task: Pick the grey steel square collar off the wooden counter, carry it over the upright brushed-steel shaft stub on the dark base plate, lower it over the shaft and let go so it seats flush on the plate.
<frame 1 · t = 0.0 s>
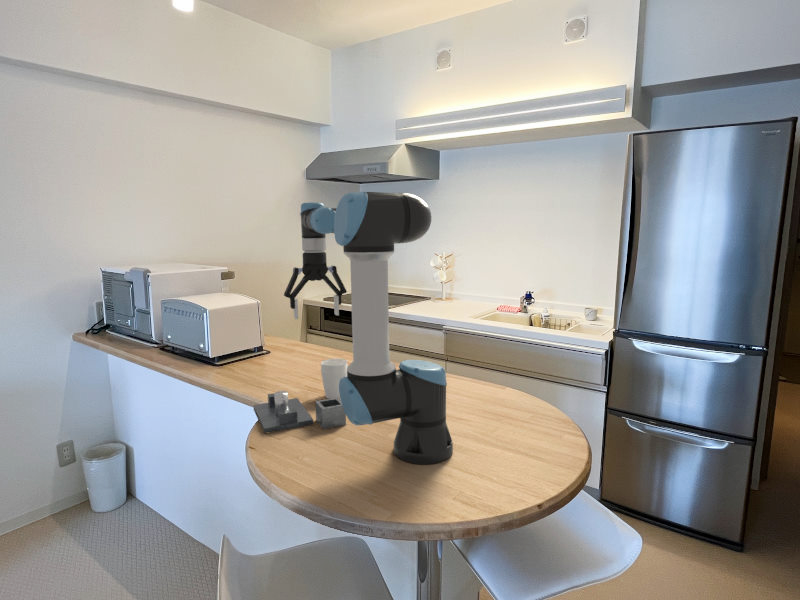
hand: (316, 316, 158), 28 cm above the breakfast bar counter, fingers open, 13 cm apart
grey hollow block: (330, 422, 143), on the breakfast bar counter
shaft base: (282, 416, 147), on the breakfast bar counter
cup: (335, 396, 165), on the breakfast bar counter
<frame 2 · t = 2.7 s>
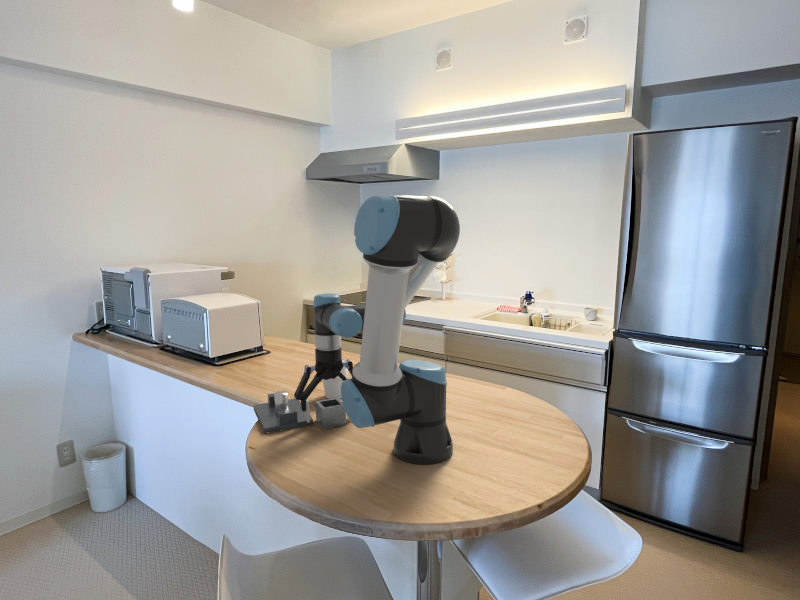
hand: (330, 417, 143), 2 cm above the breakfast bar counter, fingers open, 13 cm apart
nothing on the breakfast bar counter moved.
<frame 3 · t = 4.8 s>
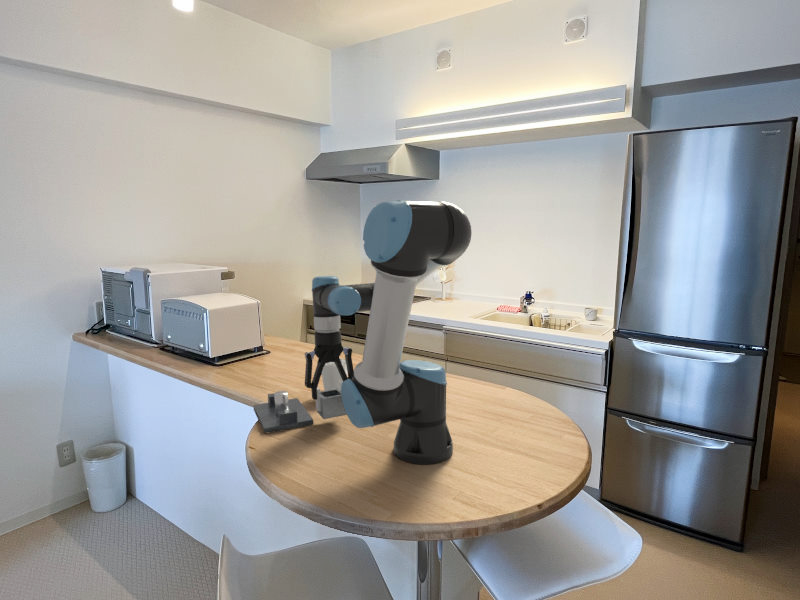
hand: (331, 407, 141), 5 cm above the breakfast bar counter, fingers closed on grey hollow block, 7 cm apart
grey hollow block: (331, 413, 141), point 3 cm above the breakfast bar counter, touching gripper
everything else where it was.
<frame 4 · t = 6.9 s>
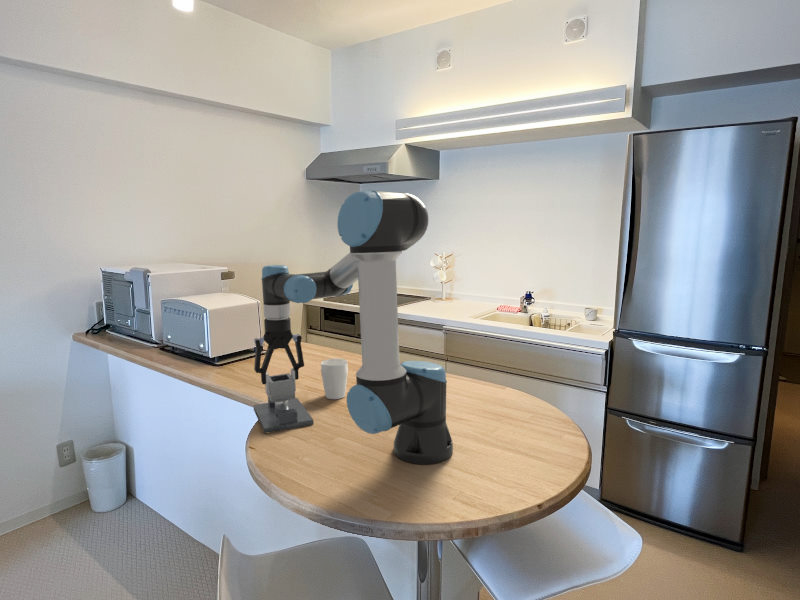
hand: (280, 391, 146), 8 cm above the breakfast bar counter, fingers closed on grey hollow block, 7 cm apart
grey hollow block: (281, 397, 147), point 6 cm above the breakfast bar counter, touching gripper
everything else where it was.
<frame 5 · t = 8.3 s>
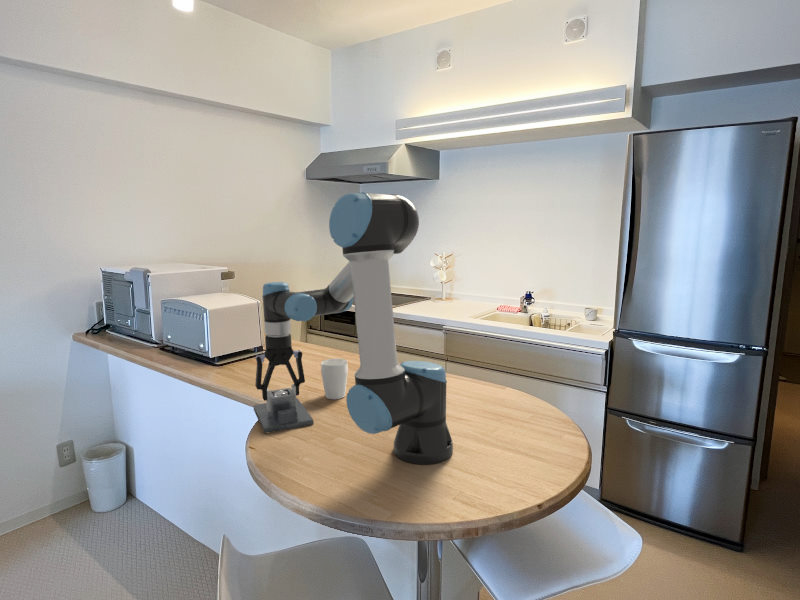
hand: (281, 407, 147), 3 cm above the breakfast bar counter, fingers closed on grey hollow block, 7 cm apart
grey hollow block: (282, 411, 147), point 1 cm above the breakfast bar counter, touching gripper, shaft base
everything else where it was.
when the fingers open (3 cm above the breakfast bar counter, at t = 8.8 s): grey hollow block stays where it is, resting on shaft base.
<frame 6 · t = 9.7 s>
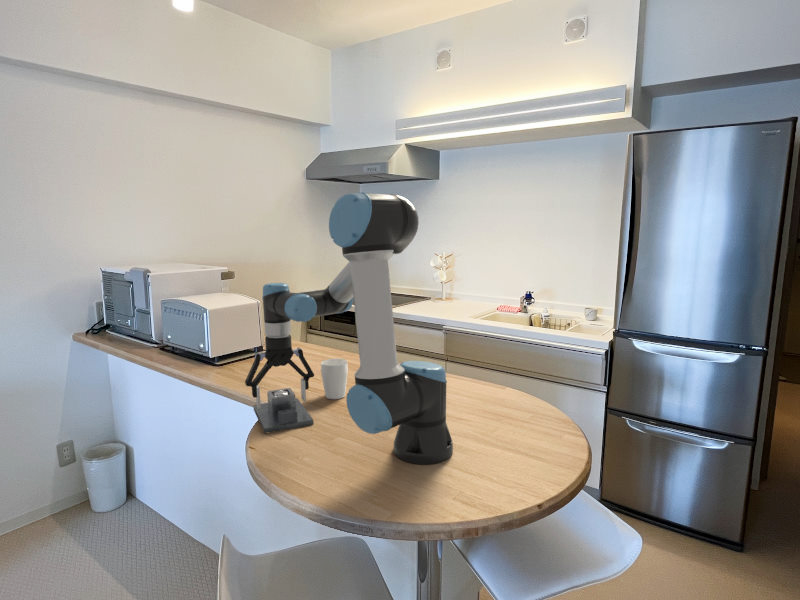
hand: (281, 403, 147), 4 cm above the breakfast bar counter, fingers open, 13 cm apart
grey hollow block: (282, 411, 147), point 1 cm above the breakfast bar counter, touching shaft base
everything else where it was.
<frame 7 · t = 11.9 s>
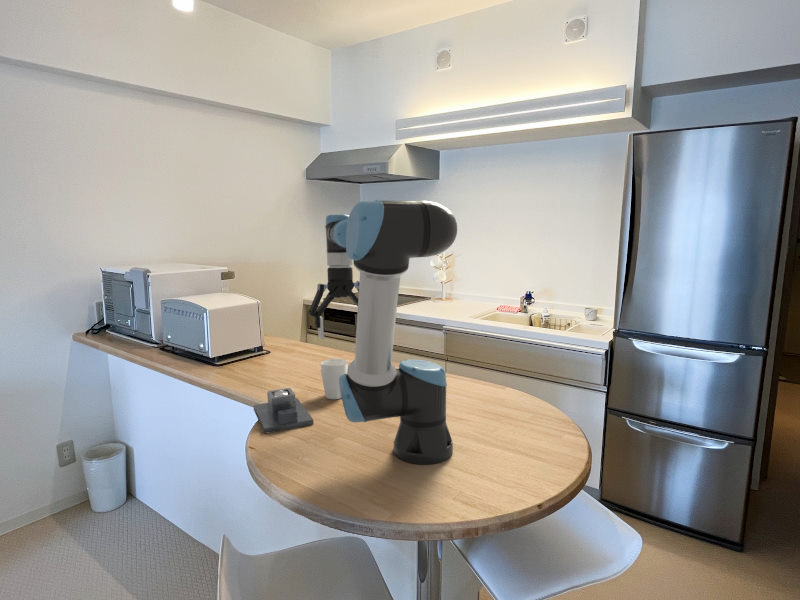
hand: (342, 335, 149), 24 cm above the breakfast bar counter, fingers open, 13 cm apart
nothing on the breakfast bar counter moved.
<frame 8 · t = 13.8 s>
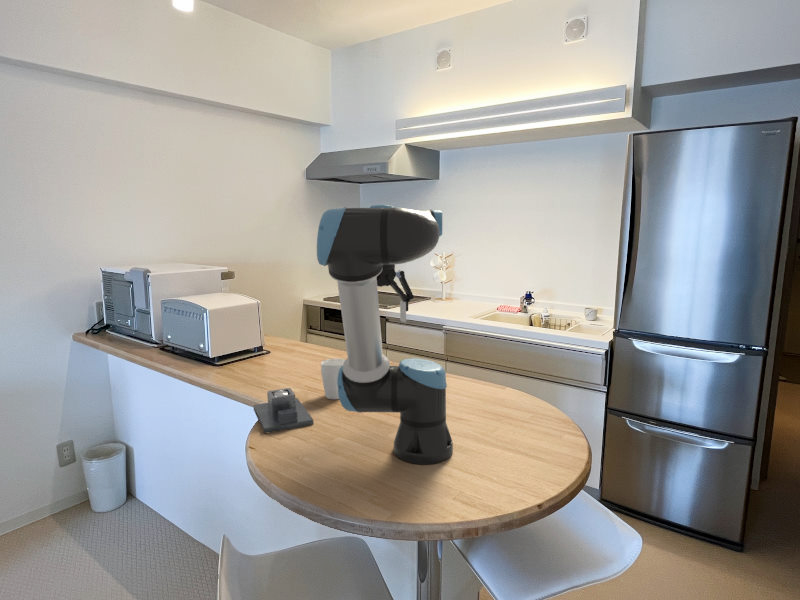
hand: (383, 323, 152), 27 cm above the breakfast bar counter, fingers open, 13 cm apart
nothing on the breakfast bar counter moved.
at the end: grey hollow block 0.1 cm off-centre on the shaft base, point 1.5 cm above the shaft base's base; grey hollow block tilted 0°; the gripper is holding nothing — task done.
